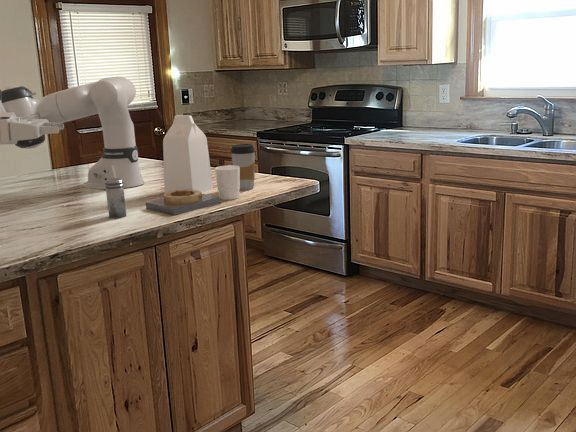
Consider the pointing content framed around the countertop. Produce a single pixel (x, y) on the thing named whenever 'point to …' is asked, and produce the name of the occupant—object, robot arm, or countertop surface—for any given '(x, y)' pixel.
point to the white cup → (228, 181)
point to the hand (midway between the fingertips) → (61, 128)
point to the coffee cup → (244, 164)
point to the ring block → (182, 201)
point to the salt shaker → (115, 198)
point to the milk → (186, 157)
